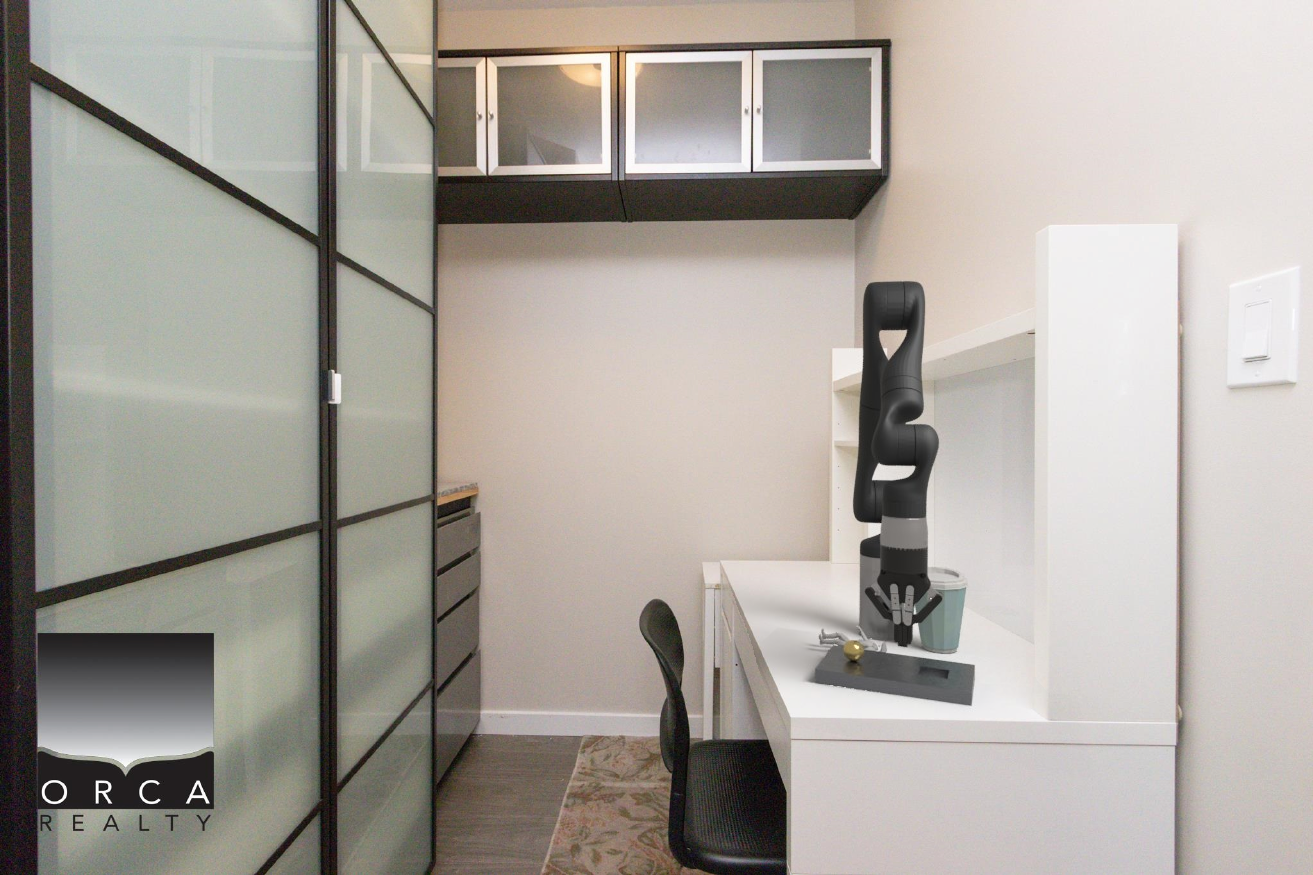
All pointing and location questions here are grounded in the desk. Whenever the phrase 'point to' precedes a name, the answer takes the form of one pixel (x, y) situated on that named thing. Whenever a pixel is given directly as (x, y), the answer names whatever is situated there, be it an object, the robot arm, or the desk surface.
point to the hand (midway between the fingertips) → (903, 645)
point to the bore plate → (899, 675)
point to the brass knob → (853, 650)
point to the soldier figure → (844, 639)
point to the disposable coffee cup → (943, 611)
